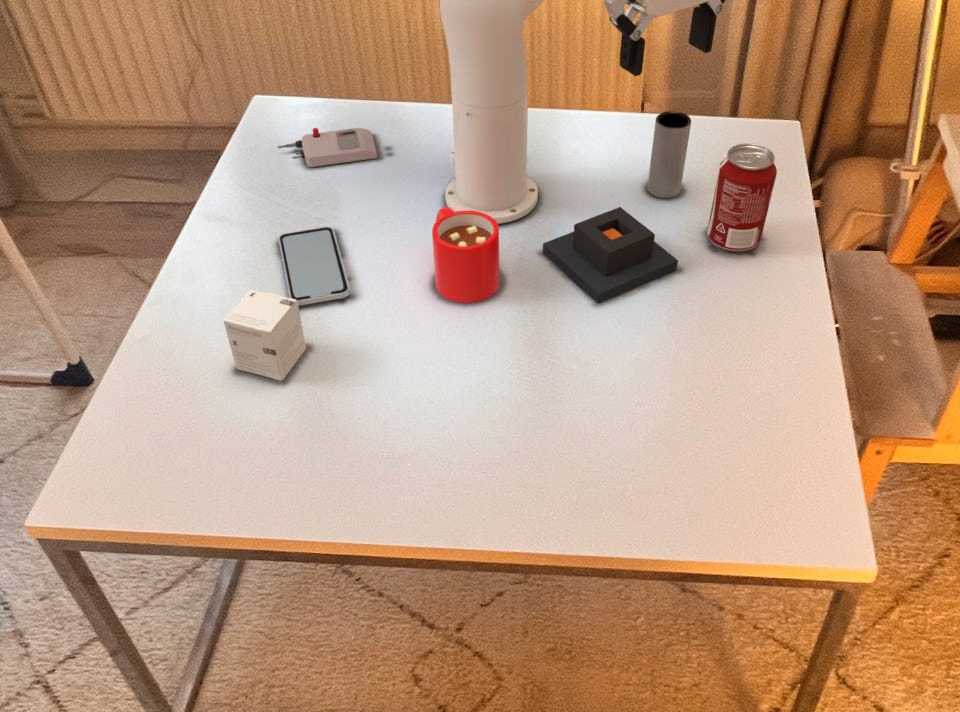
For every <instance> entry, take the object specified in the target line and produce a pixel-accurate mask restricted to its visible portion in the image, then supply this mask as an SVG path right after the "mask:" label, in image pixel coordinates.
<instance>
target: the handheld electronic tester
mask: <svg viewBox="0 0 960 712" xmlns="http://www.w3.org/2000/svg"><path fill="white" fill-rule="evenodd" d="M384 141H385V143H386V140H384ZM277 148H278V149H283V148H284V149H285V148H287V149H288V148H289V149H290V148H297V149H302V150H300V151H298V152H295V155H296V156H292V157H291V158H292V159H293V160H295V159H304V161H305V163H306V165H307V167H310V168H315V167H322V166H328V165H336V164H337V165H338V164H343V163H350V162H351V163H352V162H357V161H365V160H372V159H378V152H377V148H376V144H375V140H374V137H373V134H372V131H371V130H369V129H366V128H363V127H353V128H345V129H337V130H330V131H323V132H319V128H318V127H313V128H312V133H308V134H304V135H302V137H301V139H299V140H296V141H295V142H294V143H286V144H282V145H278V146H277Z"/></svg>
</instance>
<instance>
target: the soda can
mask: <svg viewBox="0 0 960 712" xmlns="http://www.w3.org/2000/svg"><path fill="white" fill-rule="evenodd" d="M775 160H776V157H775V154H774V152H773V151H772V150H771V149H769V148H767V147H766V146H763V145H761V144H756V143H740V144H736V145H733V146H732V147H730V148H729V149H728V151H727V154H726V157H724V158H723V159H722V161H721V162H720V163H719V167H718V173H717V176H716V177H717V178H716V183H715V187H714V192H713V193H714V194H713V199H712V203H711V208H710V209H711V210H710V215H709V220H708V225H707V230H706V236H707V238H708V240H709V241H710V242H711V244H712V245H714V246H716V247H717V248H720V249H723V250H725V251H729V252H745V251H749V250H753V249H754V248H756V247H757V246H758V245H760V243H761V239H762V236H763V232H764V228H765V225H766V219H767V217H768V212H769V208H770V203H771V199H772V195H773V190H774V187H775V183H776V179H777V174H778V169H777V167H776V164H775Z"/></svg>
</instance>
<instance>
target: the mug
mask: <svg viewBox="0 0 960 712" xmlns="http://www.w3.org/2000/svg"><path fill="white" fill-rule="evenodd" d="M436 213H437V214H436V216H435V222H434V223H433V226H432V229H431V238H432V250H433V252H432V253H433V262H434V263H433V265H434V277H435V286H436V290H437V292H438V293H439V294H440V295H441V296H442V297H444V298H445V299H447V300H449V301H451V302H456V303H461V304H473V303H478V302H482V301H485V300H487V299H489V298H491V297H492V296H494V294H496V292H498V290H499V288H500V283H501V282H500V281H501V280H500V276H501V275H500V227H499V224H497V222H496V221H495V220H494V219H493V218H492V217H491V216H489V215H487V214H484V213H482V212H478V211H470V210H465V211H456V212H455V211H454V210H452V209H451V208H449V207H448V206H445V207H443V206H442V208H440V209H439V210H438V211H437V212H436Z"/></svg>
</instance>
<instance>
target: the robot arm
mask: <svg viewBox="0 0 960 712" xmlns="http://www.w3.org/2000/svg"><path fill="white" fill-rule="evenodd" d="M544 1H545V0H439V14H440V20H441V25H442V28H443V29H442V30H443V32H444V37H445V41H446V47H447V53H448V54H447V55H448V60H449V61H448V63H449V75H450V76H449V77H450V92H451V107H452V127H453V147H454V148H453V149H454V150H453V152H451V153H450V154H449V157H448V159H449V161H450V162H451V163H452V164H453V165H454V175H455V177H454V178H453V179H451V181H449V182H448V184H447V186H446V188H445V192H444V194H445V195H444V197H445V204H446V207H449V208H451V209H452V210H454V211H455V212H456V211H465V210H470V211H478V212H482V213H484V214H487V215H489V216H491V217H492V218H493V219H494V220H495V221H496V222H497V224H498V225H499V224H507V223H509V222H510V223H511V222H513V221H516V220H520V219H521V218H524V217H525V216H527V215H528V214H529V213H531V212H532V210H533V209H534V208H535V207H536V205H537V204H538V199H539V189H538V186H537V184H536V183H535V181H534V179H532V178H531V177H530V176H528V175H527V174H528V118H529V117H528V116H529V115H528V114H529V113H528V112H529V69H528V67H529V66H528V59H527V54H526V50H525V46H524V41H523V25H524V23H525V21H526V20H527V19H528V18H529V17H530V16H531V15H532V13H533V12H534V11H535V10H536V9H537V8H539V6H540V5H541V4H542V3H543V2H544ZM726 1H727V0H604V1H603V2H604V3H603V4H604V6H605V9H606V11H607V14H608V16H609V21H610V23H611V24H612V25H613V26H614V27H615V28H616V30H617V31H618V32H619V33H621V39H620V49H619V67H620V68H621V69H623V70H625V71H627V72H628V73H629V74H631V75H633V76H634V77H638V76H641V74H643V67H644V59H645V58H644V57H645V48H646V39H645V38H644V37H642V36H643V34H644V32H645V31H646V30H647V28H648V26H649V25H650V23H651V22H652V20H653V19H654V18H655V19H656V18H659V17H664V16H666V15H669V14H673V13H677V12H679V11H683V10H687V9H689V8H693V11H692V16H691V21H690V28H689V36H688V44H689V45H691V46H693V47H694V48H695V49H697V50H698V51H701V52H703V53H705V54H708V53H711V51H712V49H713V43H714V37H715V31H716V23H717V18H718V17H717V16H719V15H720V14H721V13H723V10H724V3H725V2H726ZM643 4H644V5H643ZM625 5H626V6H628V7H627V8H626V10H625ZM638 14H640V15H639V17H638V19H637V20H636V22H635V23H634V20H635V19H636V18H637V16H638Z"/></svg>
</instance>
